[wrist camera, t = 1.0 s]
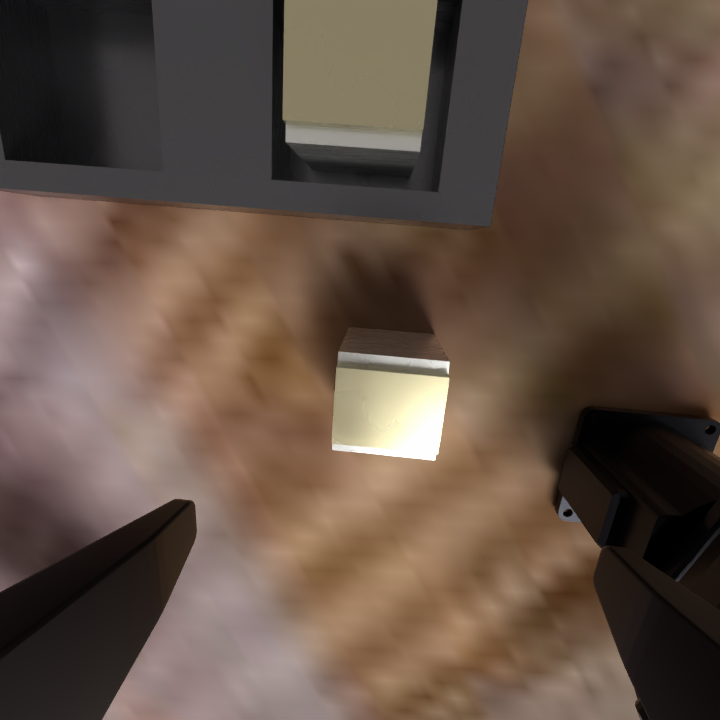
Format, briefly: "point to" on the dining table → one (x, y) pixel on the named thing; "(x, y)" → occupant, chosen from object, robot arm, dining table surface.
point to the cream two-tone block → (390, 393)
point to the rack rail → (234, 111)
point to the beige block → (357, 82)
